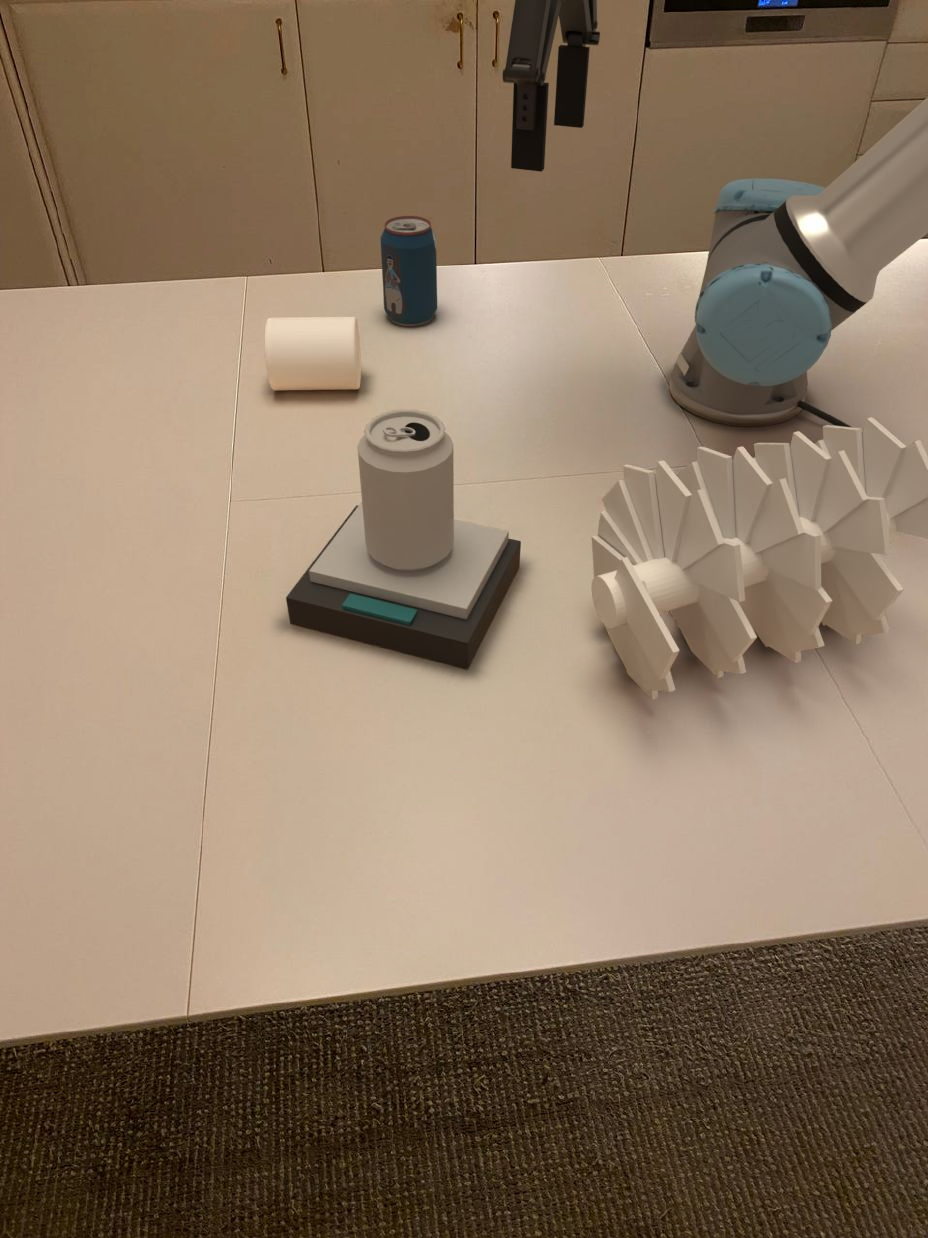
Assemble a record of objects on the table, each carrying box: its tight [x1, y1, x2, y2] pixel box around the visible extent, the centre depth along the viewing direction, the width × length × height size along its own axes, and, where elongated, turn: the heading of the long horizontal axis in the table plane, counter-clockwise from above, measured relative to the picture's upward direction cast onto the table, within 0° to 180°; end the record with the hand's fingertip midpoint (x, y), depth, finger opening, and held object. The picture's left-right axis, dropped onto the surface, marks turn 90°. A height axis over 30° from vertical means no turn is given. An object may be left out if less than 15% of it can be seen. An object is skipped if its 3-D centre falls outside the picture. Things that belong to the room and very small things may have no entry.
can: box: [357, 408, 455, 572], centre depth 77 cm, size 8×8×12 cm
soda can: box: [380, 215, 438, 327], centre depth 121 cm, size 7×7×12 cm
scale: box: [285, 501, 522, 670], centre depth 82 cm, size 16×14×4 cm
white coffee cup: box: [263, 316, 362, 391], centre depth 110 cm, size 12×10×8 cm
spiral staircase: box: [590, 416, 928, 700], centre depth 74 cm, size 18×18×25 cm
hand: (549, 146), depth 85 cm, fingers open, 13 cm apart
